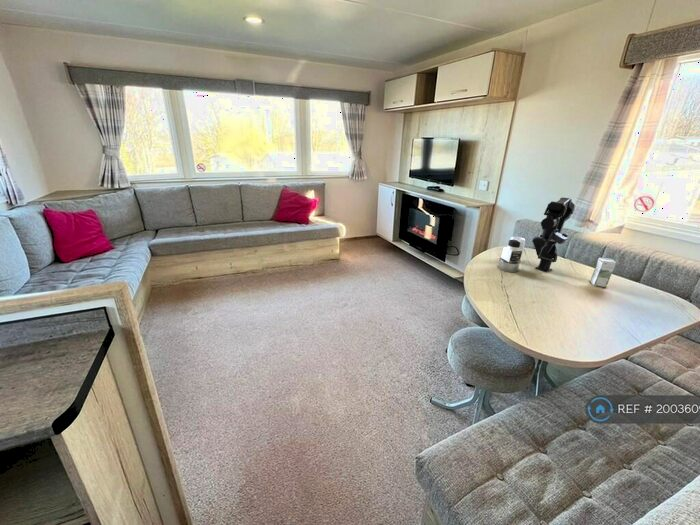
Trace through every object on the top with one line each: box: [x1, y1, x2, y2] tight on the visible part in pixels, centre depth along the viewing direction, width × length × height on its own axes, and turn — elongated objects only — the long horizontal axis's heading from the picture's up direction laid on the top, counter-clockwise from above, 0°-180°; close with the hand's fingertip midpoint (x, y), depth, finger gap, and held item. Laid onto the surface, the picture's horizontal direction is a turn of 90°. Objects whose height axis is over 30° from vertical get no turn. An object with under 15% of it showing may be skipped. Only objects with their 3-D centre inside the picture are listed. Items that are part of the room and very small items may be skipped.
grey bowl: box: [497, 257, 521, 273], centre depth 181 cm, size 10×10×5 cm
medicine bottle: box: [500, 239, 523, 263], centre depth 177 cm, size 7×7×12 cm
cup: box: [510, 236, 526, 260], centre depth 193 cm, size 8×8×14 cm
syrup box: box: [589, 257, 617, 288], centre depth 163 cm, size 6×6×14 cm
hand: (542, 254), depth 167 cm, fingers open, 9 cm apart
